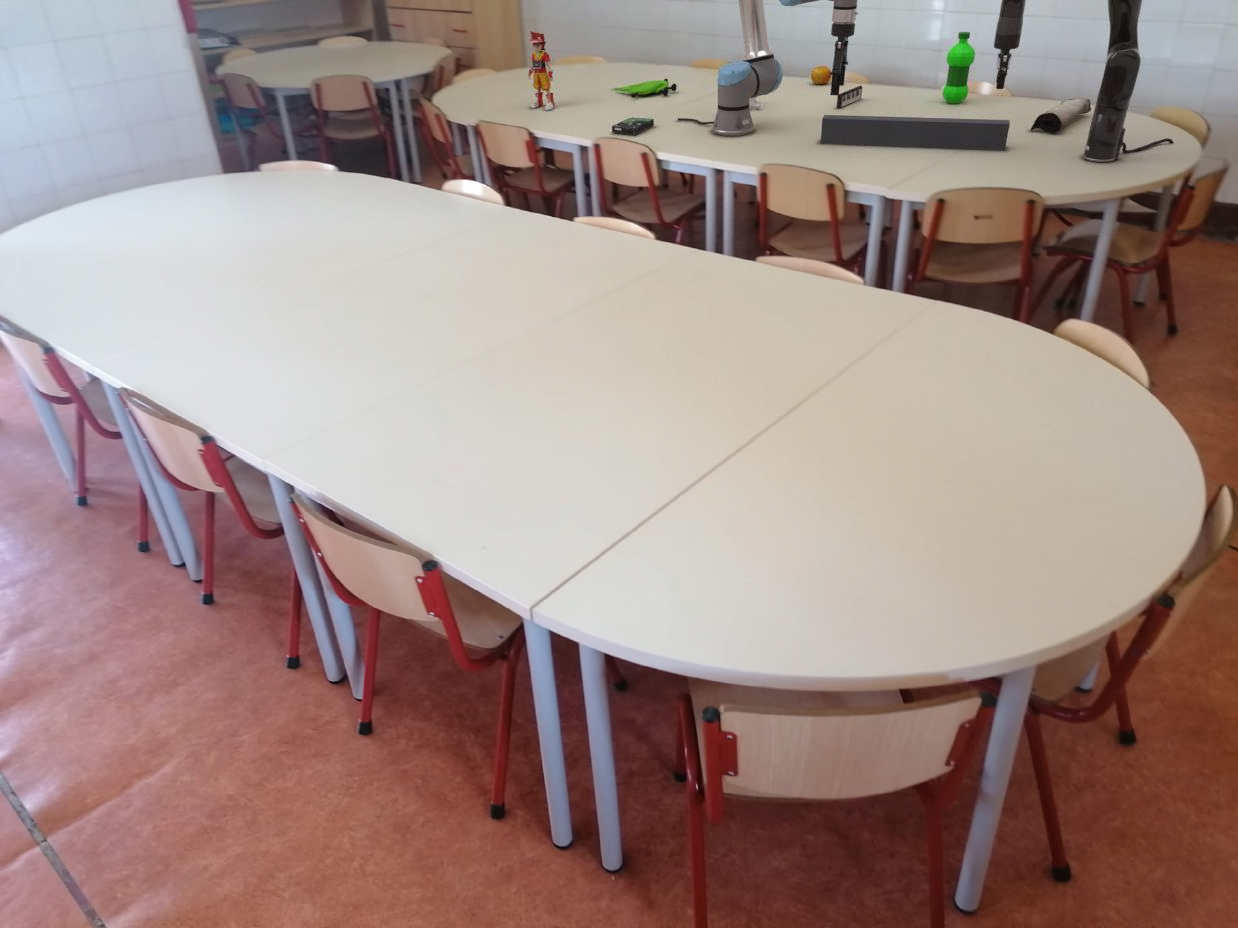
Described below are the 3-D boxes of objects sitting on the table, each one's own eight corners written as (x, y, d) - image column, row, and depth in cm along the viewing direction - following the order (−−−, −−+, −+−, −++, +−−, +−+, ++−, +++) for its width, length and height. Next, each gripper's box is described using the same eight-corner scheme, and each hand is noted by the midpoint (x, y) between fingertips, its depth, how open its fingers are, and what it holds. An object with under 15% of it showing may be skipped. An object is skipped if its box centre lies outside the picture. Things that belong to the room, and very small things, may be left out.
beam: (820, 143, 317) (822, 118, 312) (822, 140, 321) (824, 115, 316) (1004, 150, 300) (1009, 124, 295) (1004, 146, 304) (1009, 120, 299)
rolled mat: (1058, 102, 333) (1083, 85, 325) (1072, 123, 334) (1096, 106, 326) (1026, 124, 316) (1051, 107, 308) (1040, 146, 317) (1066, 129, 308)
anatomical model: (727, 81, 368) (751, 74, 367) (732, 106, 373) (755, 100, 373) (734, 89, 355) (759, 82, 354) (738, 116, 361) (763, 109, 360)
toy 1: (525, 109, 381) (517, 32, 364) (534, 104, 388) (527, 28, 371) (550, 110, 377) (543, 32, 360) (559, 105, 384) (553, 28, 367)
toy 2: (686, 85, 398) (631, 84, 414) (685, 72, 395) (629, 72, 411) (651, 104, 381) (596, 103, 397) (650, 92, 378) (594, 91, 394)
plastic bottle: (973, 101, 354) (984, 32, 339) (955, 106, 349) (966, 36, 335) (952, 97, 361) (962, 29, 346) (934, 102, 356) (944, 33, 342)
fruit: (806, 77, 389) (817, 59, 386) (809, 80, 396) (820, 63, 393) (821, 87, 387) (833, 70, 384) (824, 90, 395) (835, 74, 392)
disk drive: (634, 136, 338) (654, 126, 348) (634, 128, 336) (654, 118, 346) (611, 133, 343) (631, 123, 353) (611, 126, 341) (631, 116, 351)
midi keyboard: (839, 108, 356) (840, 95, 353) (836, 108, 357) (837, 94, 354) (861, 99, 366) (862, 86, 363) (858, 98, 367) (859, 85, 364)
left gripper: (850, 30, 285) (843, 99, 298) (859, 16, 304) (852, 82, 317) (826, 29, 287) (821, 99, 300) (837, 15, 307) (831, 81, 319)
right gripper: (1022, 35, 276) (1012, 91, 285) (1020, 27, 287) (1011, 81, 296) (996, 36, 278) (987, 91, 288) (995, 27, 289) (987, 81, 298)
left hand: (837, 90), depth 308 cm, fingers open, 13 cm apart
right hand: (999, 86), depth 292 cm, fingers open, 8 cm apart
